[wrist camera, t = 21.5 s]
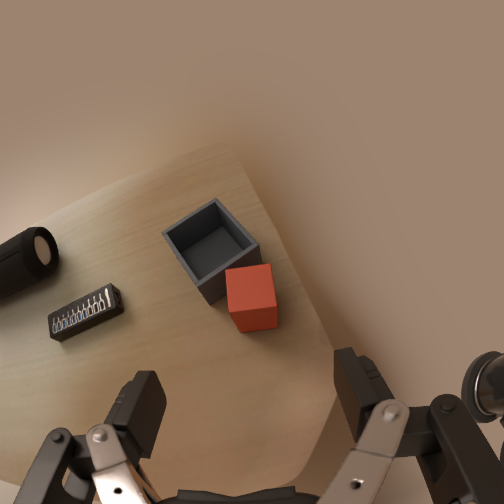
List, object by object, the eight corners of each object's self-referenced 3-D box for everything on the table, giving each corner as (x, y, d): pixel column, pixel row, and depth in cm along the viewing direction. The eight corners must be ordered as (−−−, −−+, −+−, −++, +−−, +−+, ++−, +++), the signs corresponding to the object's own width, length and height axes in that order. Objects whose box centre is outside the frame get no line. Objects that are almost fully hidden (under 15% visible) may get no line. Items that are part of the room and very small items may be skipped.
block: (278, 327, 36) (277, 306, 28) (240, 332, 36) (228, 312, 29) (272, 293, 39) (270, 262, 31) (236, 298, 39) (225, 269, 31)
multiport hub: (55, 319, 39) (47, 315, 37) (118, 288, 41) (111, 282, 39) (58, 342, 37) (50, 338, 35) (124, 312, 39) (116, 307, 37)
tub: (262, 268, 41) (259, 244, 35) (209, 305, 39) (197, 287, 33) (223, 223, 45) (216, 197, 40) (175, 255, 43) (160, 232, 38)
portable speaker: (63, 241, 48) (34, 212, 39) (60, 283, 43) (26, 257, 34) (-6, 276, 46) (-32, 256, 37) (-10, 313, 41) (-40, 295, 32)
